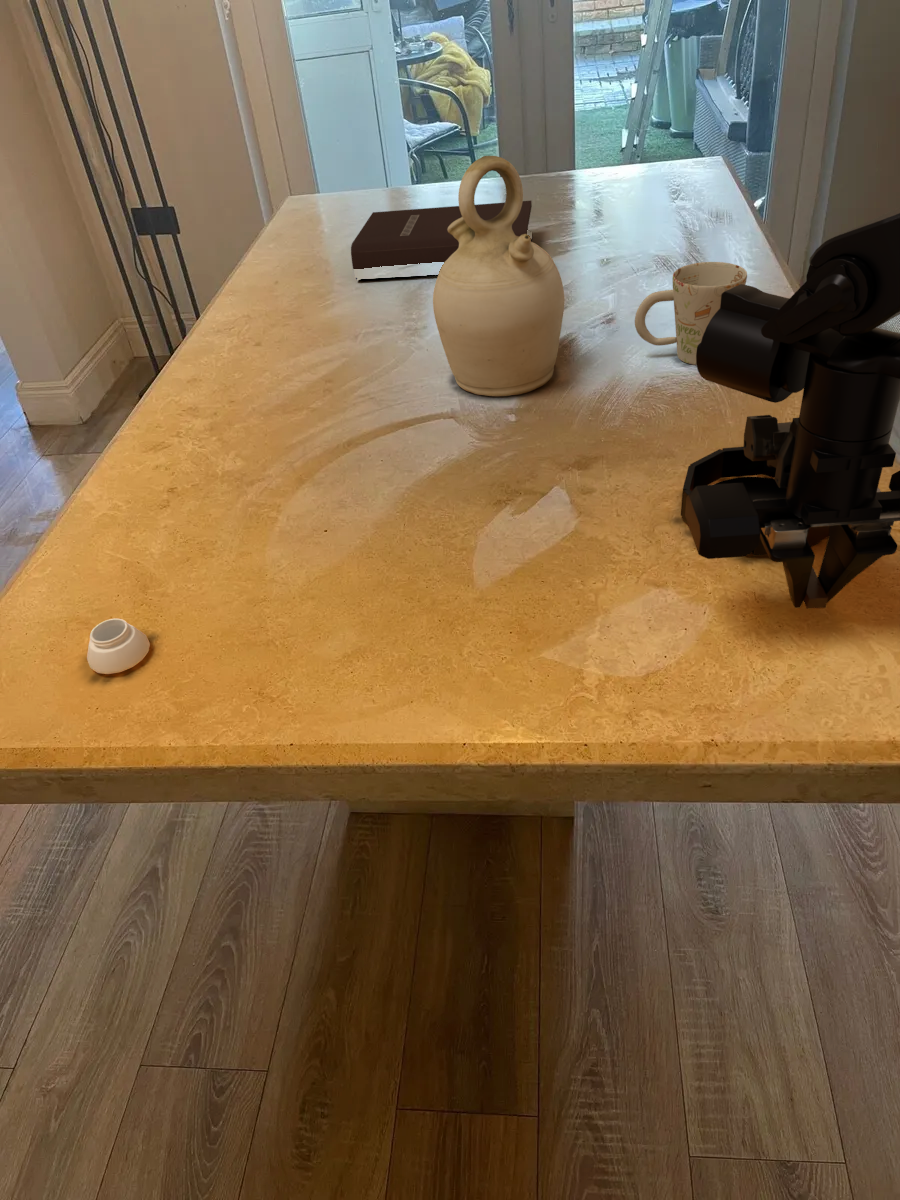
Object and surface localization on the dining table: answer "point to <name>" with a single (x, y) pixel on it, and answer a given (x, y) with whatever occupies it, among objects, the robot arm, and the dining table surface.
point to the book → (418, 235)
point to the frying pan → (737, 465)
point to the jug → (497, 296)
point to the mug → (691, 303)
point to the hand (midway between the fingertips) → (807, 603)
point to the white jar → (116, 646)
